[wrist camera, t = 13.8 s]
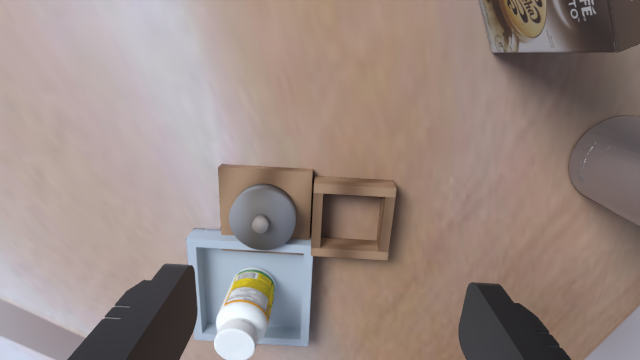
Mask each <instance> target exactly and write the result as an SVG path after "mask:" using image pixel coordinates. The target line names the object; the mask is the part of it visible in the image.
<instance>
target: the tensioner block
mask: <svg viewBox="0 0 640 360" xmlns="http://www.w3.org/2000/svg"><path fill="white" fill-rule="evenodd" d="M218 175H219V197H220V218H221V235H233V236H235V237H236V238H237V239H238V240H239V241H240V242H241V243H243V244H244V245H246V246H248V247H250V248H252V249H256V250H272V249H276V248H278V247H280V246H282V245H283V244H285V243H286V242H287V241H288V240H289V239H301V240H309V239H310V223H311V201H312V180H313V169H297V168H280V167H262V166H244V165H227V164H221V165H220V166H219V167H218ZM396 190H397V188H396V186H395V184H394V182H393V180H376V179H359V178H341V177H323V176H315V180H314V194H313V215H312V236H311V249H312V250H311V254H313V255H311V256H322V257H339V258H356V259H373V260H387V259H388V251H389V243H390V236H391V228H392V220H393V213H394V205H395V197H396ZM323 193H325V194H343V195H360V196H378V197H381V205H380V214H379V223H378V231H377V240H376V241H373V240H356V239H339V238H321V223H322V205H323ZM312 246H313V247H312ZM222 250H225V251H242V252H259V253H276V254H293V255H304V253H287V252H270V251H253V250H236V249H222Z"/></svg>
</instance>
